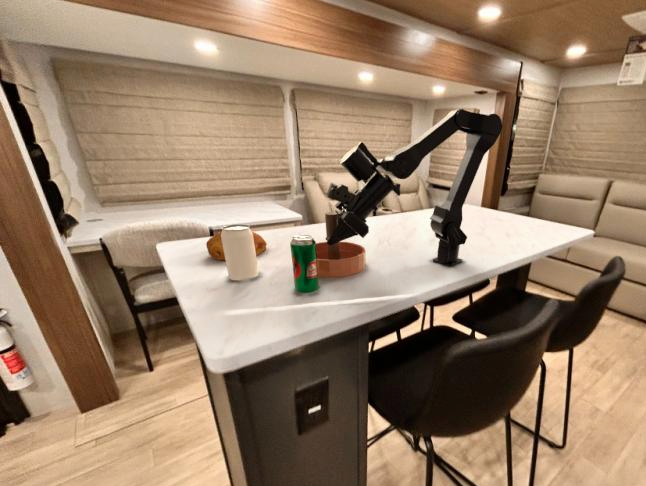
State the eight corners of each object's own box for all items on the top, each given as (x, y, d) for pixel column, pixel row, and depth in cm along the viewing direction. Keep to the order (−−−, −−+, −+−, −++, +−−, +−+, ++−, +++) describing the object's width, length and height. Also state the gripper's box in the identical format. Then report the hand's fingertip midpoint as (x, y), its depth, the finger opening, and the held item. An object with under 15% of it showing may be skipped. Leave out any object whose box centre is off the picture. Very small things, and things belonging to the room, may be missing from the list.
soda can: (312, 296, 65) (308, 241, 61) (290, 293, 66) (284, 239, 61) (322, 287, 70) (319, 235, 65) (302, 284, 71) (297, 233, 66)
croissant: (200, 265, 85) (190, 238, 81) (238, 243, 98) (230, 219, 94) (246, 270, 82) (237, 242, 78) (278, 246, 95) (272, 221, 91)
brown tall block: (342, 262, 81) (340, 211, 76) (343, 266, 78) (341, 214, 73) (325, 263, 80) (321, 212, 74) (326, 267, 77) (322, 215, 72)
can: (265, 274, 76) (257, 225, 71) (244, 283, 70) (235, 231, 65) (244, 270, 78) (235, 222, 73) (222, 279, 72) (212, 228, 67)
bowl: (338, 254, 92) (338, 238, 90) (377, 268, 82) (378, 250, 80) (289, 267, 80) (287, 249, 78) (328, 285, 71) (327, 265, 69)
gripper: (341, 167, 79) (301, 212, 80) (352, 173, 63) (300, 229, 64) (372, 199, 84) (333, 240, 86) (389, 211, 68) (341, 262, 69)
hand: (327, 242), depth 76 cm, fingers closed on brown tall block, 3 cm apart
